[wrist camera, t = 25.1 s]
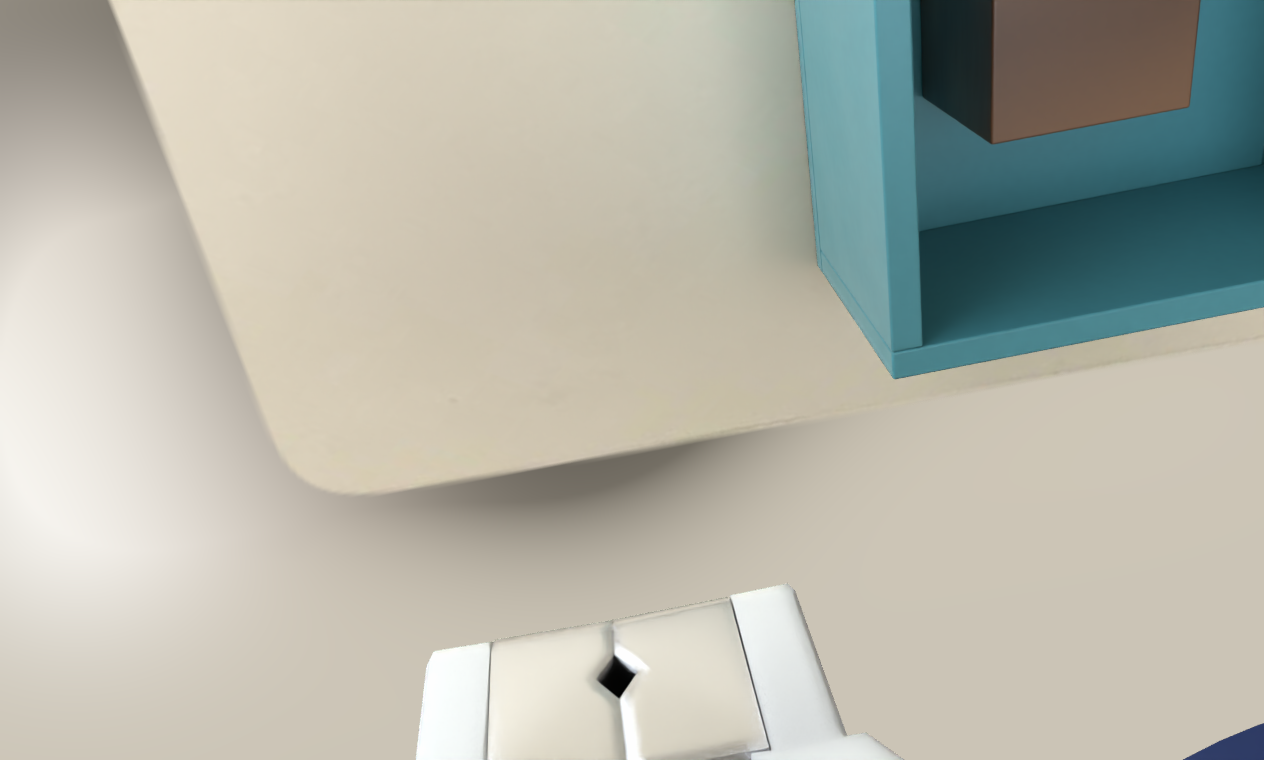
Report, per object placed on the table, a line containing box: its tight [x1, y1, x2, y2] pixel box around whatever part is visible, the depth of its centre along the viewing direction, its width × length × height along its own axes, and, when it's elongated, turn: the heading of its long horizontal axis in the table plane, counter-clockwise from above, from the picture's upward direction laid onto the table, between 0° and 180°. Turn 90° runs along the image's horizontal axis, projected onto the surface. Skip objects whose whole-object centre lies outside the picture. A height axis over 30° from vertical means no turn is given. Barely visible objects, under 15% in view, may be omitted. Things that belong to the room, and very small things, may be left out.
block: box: [920, 0, 1201, 145], centre depth 26 cm, size 5×5×5 cm
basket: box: [795, 0, 1264, 379], centre depth 25 cm, size 15×15×8 cm
